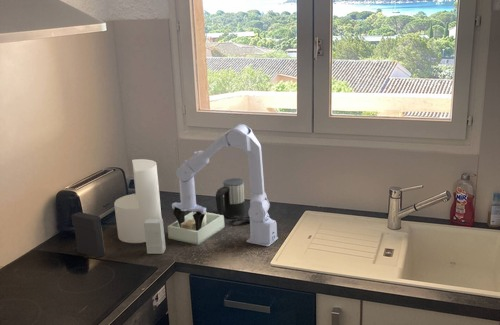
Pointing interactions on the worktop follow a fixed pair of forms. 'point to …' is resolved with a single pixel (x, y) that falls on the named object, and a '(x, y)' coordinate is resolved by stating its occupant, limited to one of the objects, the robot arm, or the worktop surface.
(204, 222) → the ivory cylinder
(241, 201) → the milk frother
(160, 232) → the skincare box
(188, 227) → the beech block
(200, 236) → the tote
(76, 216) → the calculator
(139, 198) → the white stepped cylinder
